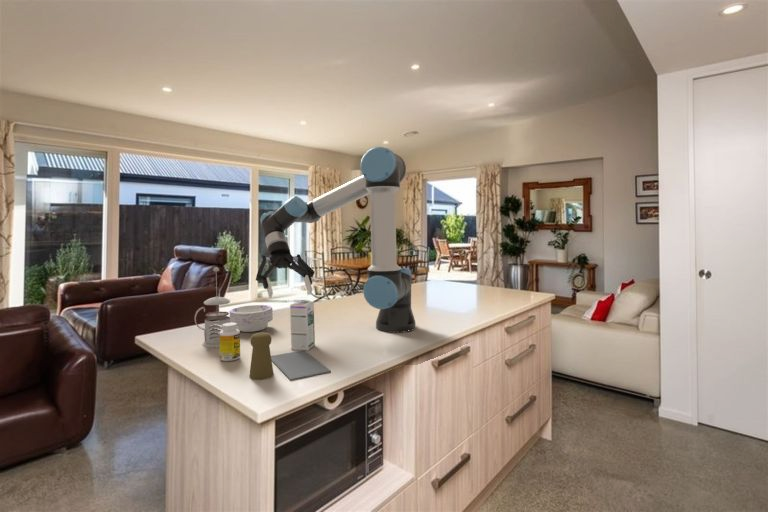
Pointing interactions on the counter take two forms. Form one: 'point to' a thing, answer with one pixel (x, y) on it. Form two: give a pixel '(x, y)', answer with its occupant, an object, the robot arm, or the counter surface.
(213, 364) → the counter surface
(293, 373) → the mat
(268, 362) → the olive pawn
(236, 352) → the supplement bottle
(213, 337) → the french press
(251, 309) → the white bowl
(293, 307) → the syrup box
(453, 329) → the counter surface
